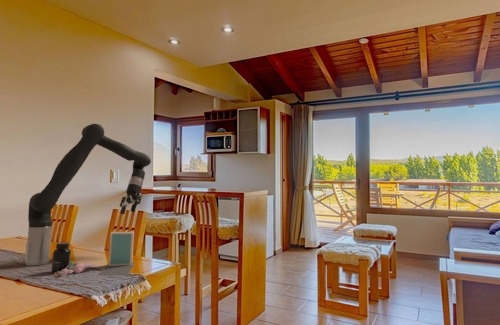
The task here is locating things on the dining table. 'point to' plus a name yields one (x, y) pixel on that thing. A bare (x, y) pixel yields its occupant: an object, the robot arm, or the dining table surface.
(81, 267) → the rabbit figure
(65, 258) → the supplement bottle
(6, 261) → the dining table surface
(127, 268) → the mat
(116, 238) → the tile
